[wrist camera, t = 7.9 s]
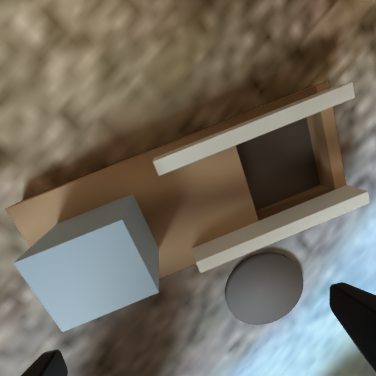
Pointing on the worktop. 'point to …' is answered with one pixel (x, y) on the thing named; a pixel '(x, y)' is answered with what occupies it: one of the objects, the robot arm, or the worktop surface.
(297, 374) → the worktop surface
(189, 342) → the worktop surface
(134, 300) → the block
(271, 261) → the coaster
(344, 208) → the channel walls
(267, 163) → the channel base plate
